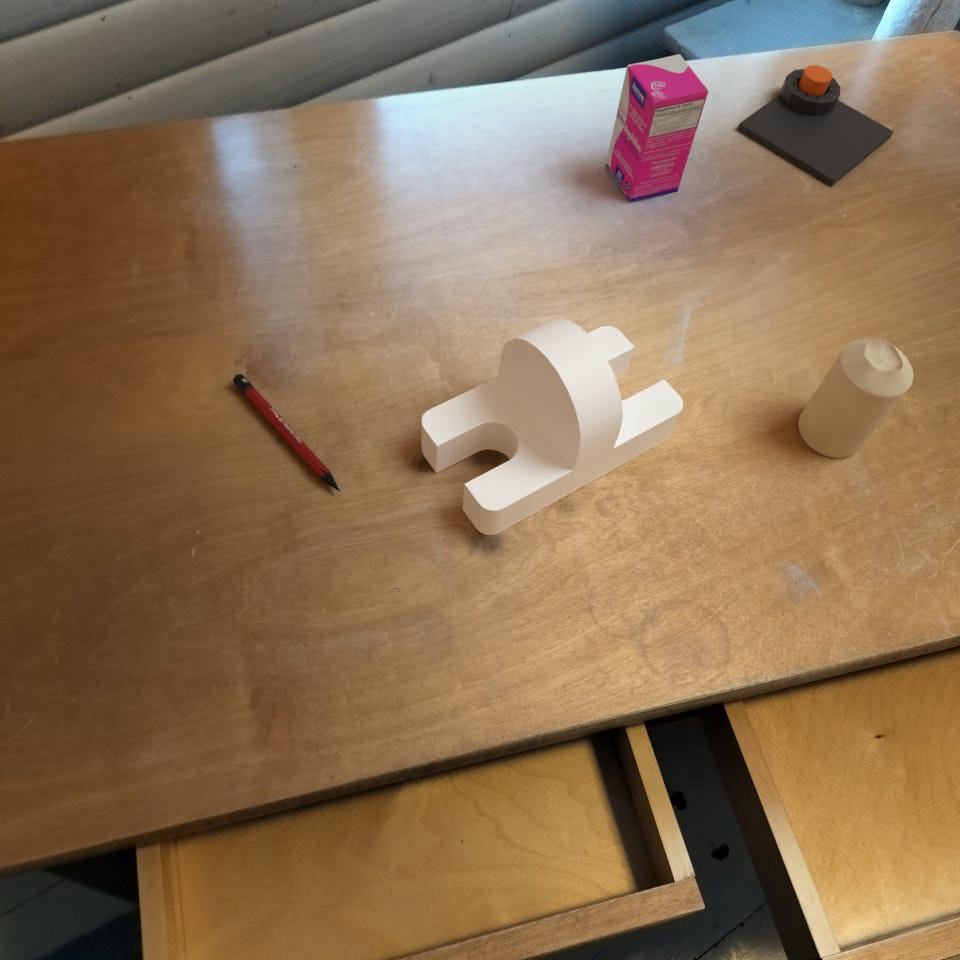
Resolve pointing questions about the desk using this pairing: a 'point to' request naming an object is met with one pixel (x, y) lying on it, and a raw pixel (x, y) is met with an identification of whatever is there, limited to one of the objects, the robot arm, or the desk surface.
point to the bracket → (548, 421)
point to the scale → (815, 130)
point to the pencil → (285, 430)
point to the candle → (855, 397)
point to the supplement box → (655, 126)
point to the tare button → (815, 80)
